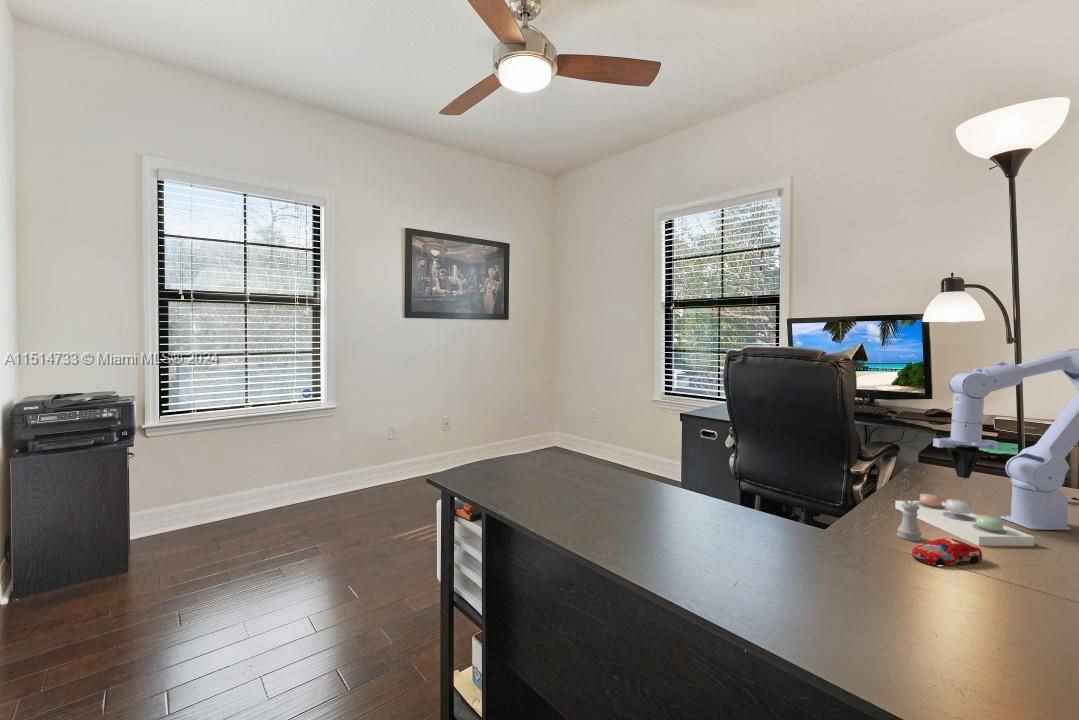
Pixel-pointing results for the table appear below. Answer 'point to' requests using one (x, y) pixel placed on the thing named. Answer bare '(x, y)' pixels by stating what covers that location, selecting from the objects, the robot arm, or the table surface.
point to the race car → (947, 552)
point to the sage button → (989, 523)
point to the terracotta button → (931, 500)
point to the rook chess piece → (909, 522)
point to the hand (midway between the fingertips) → (963, 477)
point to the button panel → (969, 527)
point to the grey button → (958, 506)
